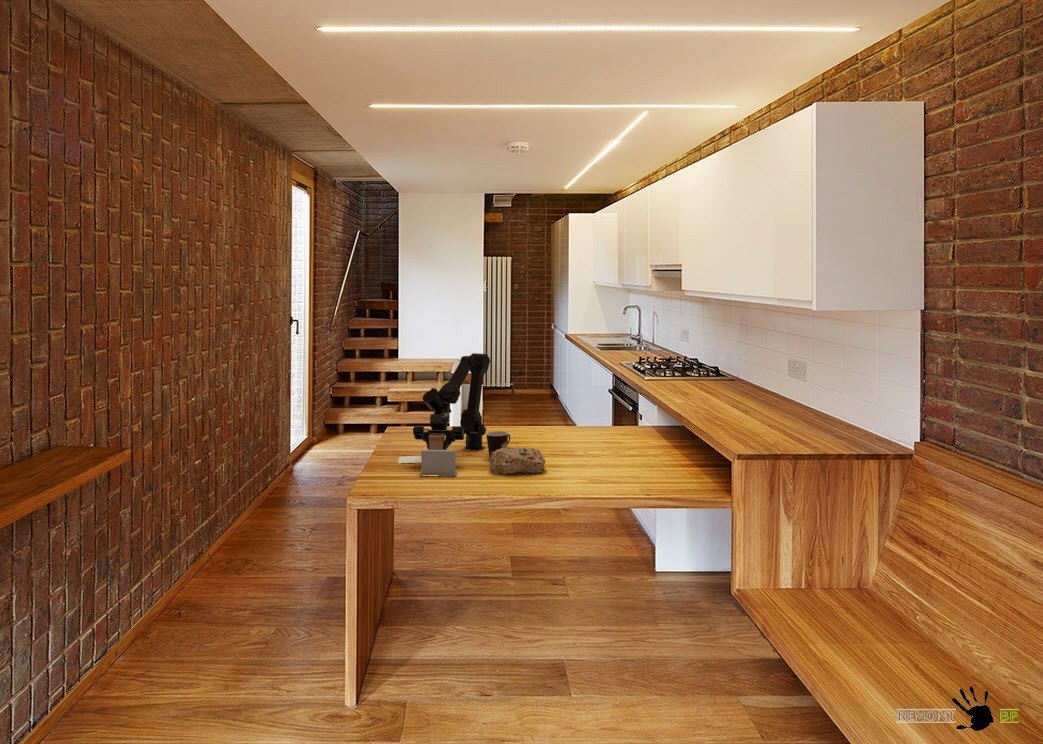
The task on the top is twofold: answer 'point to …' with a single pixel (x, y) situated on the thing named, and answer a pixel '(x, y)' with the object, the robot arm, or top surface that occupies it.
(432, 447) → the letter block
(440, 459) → the screen
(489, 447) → the coffee mug
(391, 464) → the top surface
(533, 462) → the rock
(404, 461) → the mat
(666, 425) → the top surface
